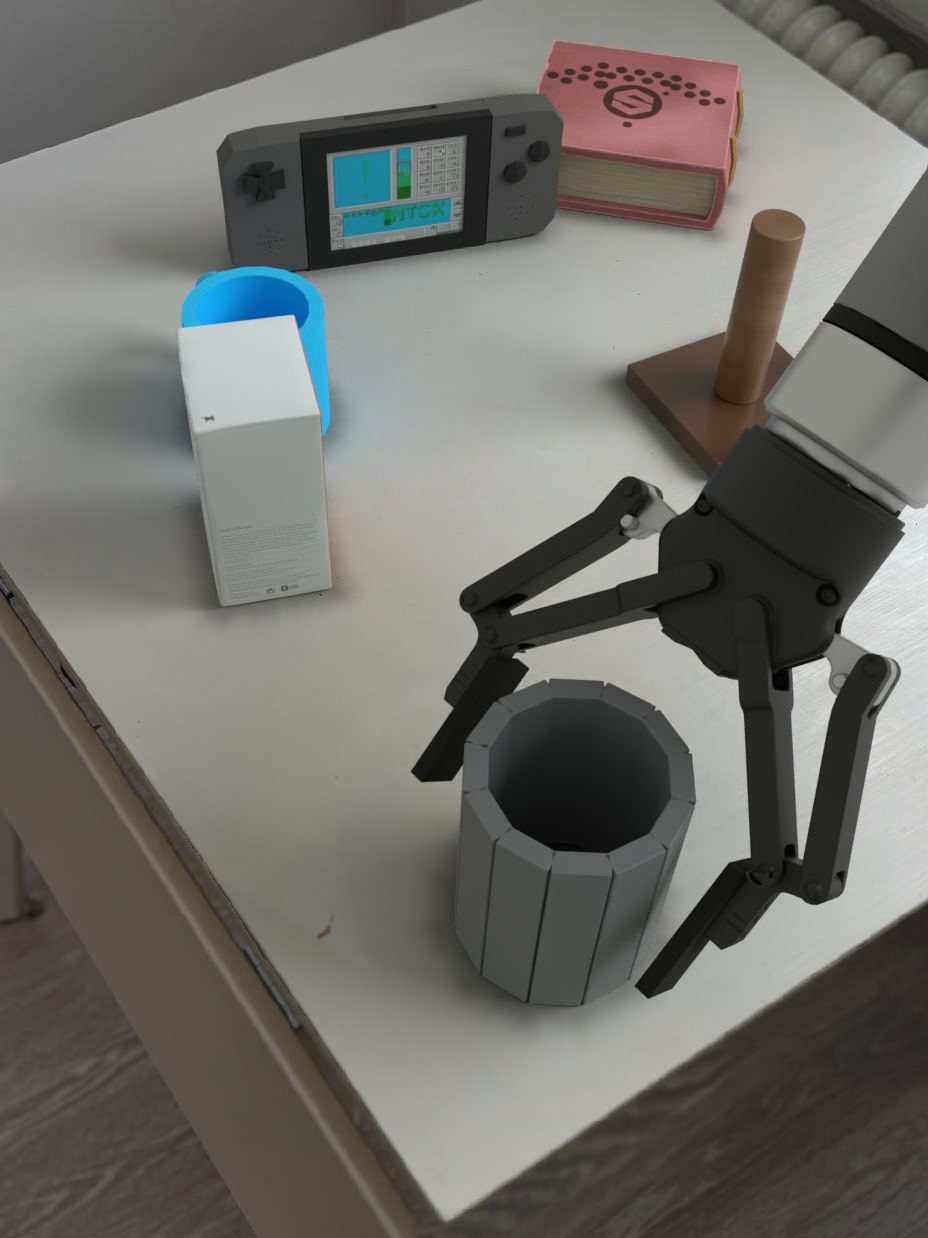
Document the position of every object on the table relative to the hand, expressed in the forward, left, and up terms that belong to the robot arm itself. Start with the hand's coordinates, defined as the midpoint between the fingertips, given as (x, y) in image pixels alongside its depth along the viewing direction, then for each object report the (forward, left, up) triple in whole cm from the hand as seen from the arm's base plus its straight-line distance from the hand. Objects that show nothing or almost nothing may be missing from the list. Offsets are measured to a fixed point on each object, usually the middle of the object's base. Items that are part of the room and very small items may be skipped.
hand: (536, 877), depth 59 cm
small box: (+27, +1, -5) cm, 28 cm away
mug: (+39, -3, -5) cm, 40 cm away
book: (+51, -39, -5) cm, 64 cm away
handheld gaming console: (+49, -18, -5) cm, 53 cm away
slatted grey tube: (0, -2, -5) cm, 5 cm away
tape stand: (+25, -30, -5) cm, 39 cm away
